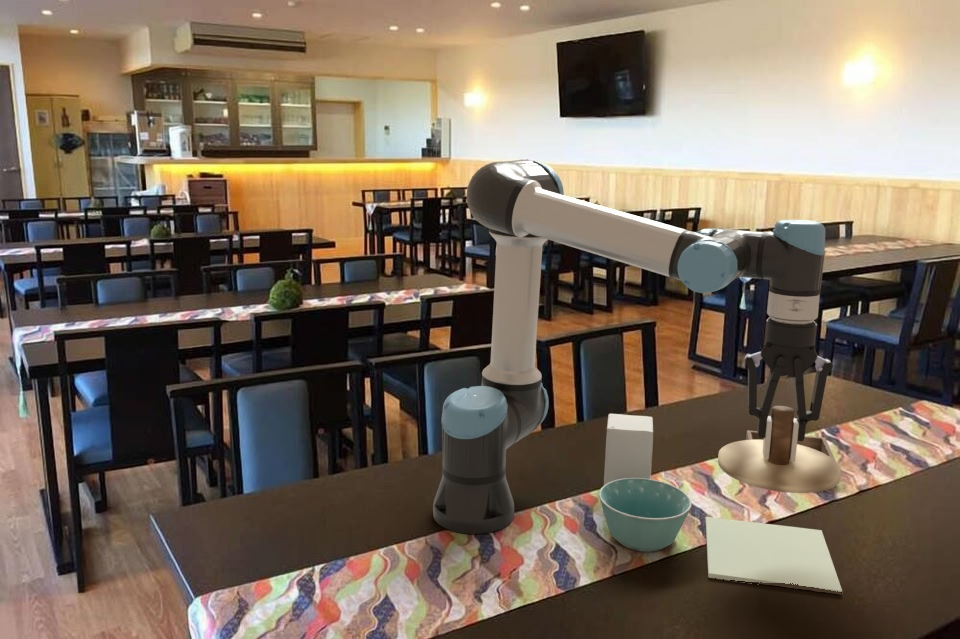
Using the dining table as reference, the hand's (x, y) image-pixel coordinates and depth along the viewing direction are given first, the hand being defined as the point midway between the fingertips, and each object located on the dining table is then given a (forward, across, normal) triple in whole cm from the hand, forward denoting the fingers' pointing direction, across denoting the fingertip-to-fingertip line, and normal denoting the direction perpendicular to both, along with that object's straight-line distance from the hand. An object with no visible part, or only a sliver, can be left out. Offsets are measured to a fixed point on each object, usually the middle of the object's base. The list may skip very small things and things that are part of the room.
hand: (778, 456), depth 131 cm
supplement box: (+18, -25, +18) cm, 36 cm away
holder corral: (+18, +8, +41) cm, 45 cm away
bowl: (+18, -21, 0) cm, 28 cm away
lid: (+2, 0, 0) cm, 2 cm away
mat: (+18, 0, 0) cm, 18 cm away
